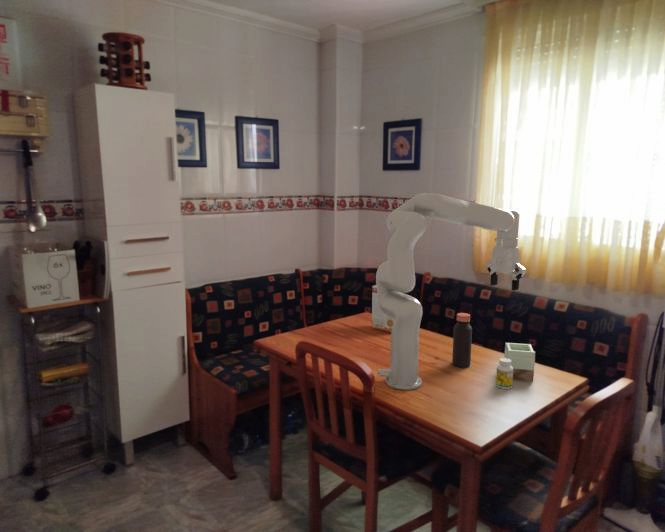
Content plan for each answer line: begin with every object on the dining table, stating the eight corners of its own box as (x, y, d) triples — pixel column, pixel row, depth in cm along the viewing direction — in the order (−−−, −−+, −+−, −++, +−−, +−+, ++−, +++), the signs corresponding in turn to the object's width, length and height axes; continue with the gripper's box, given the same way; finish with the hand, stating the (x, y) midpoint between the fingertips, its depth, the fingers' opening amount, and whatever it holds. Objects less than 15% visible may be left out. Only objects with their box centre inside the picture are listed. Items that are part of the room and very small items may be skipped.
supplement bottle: (515, 388, 168) (517, 361, 166) (503, 390, 166) (505, 363, 164) (504, 382, 173) (506, 356, 171) (492, 384, 170) (493, 358, 169)
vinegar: (470, 368, 185) (473, 317, 181) (452, 367, 186) (454, 316, 182) (469, 361, 191) (472, 312, 187) (451, 360, 192) (454, 311, 189)
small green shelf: (507, 368, 174) (508, 350, 173) (504, 358, 183) (505, 342, 182) (534, 370, 172) (535, 352, 171) (529, 360, 181) (531, 344, 180)
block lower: (506, 379, 175) (507, 368, 174) (503, 370, 184) (504, 358, 183) (533, 382, 173) (534, 370, 172) (529, 372, 181) (530, 360, 181)
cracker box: (402, 331, 229) (403, 287, 225) (395, 334, 224) (396, 290, 220) (379, 325, 238) (379, 283, 234) (371, 327, 234) (371, 285, 230)
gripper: (481, 240, 187) (479, 284, 190) (520, 246, 172) (517, 293, 176) (494, 239, 191) (492, 282, 194) (533, 244, 176) (530, 290, 179)
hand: (504, 287), depth 185 cm, fingers open, 9 cm apart
